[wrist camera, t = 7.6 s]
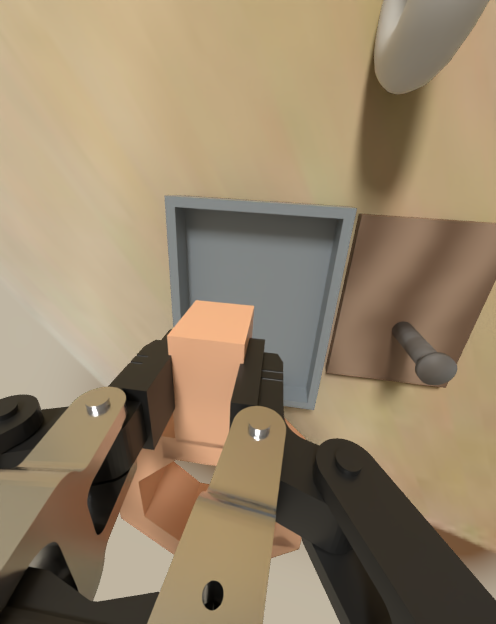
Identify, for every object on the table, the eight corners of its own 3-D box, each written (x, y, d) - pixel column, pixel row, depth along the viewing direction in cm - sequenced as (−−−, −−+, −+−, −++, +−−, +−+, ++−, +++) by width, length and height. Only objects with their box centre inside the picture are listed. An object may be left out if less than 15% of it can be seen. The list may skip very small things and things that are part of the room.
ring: (330, 313, 10) (347, 355, 8) (290, 510, 16) (292, 576, 13) (125, 293, 11) (75, 325, 8) (153, 487, 16) (127, 546, 14)
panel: (511, 224, 22) (614, 238, 15) (440, 381, 28) (489, 441, 21) (359, 213, 23) (390, 222, 16) (325, 367, 29) (337, 419, 23)
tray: (348, 206, 23) (356, 208, 20) (311, 391, 31) (313, 410, 28) (178, 195, 24) (164, 195, 21) (186, 374, 32) (177, 391, 30)
